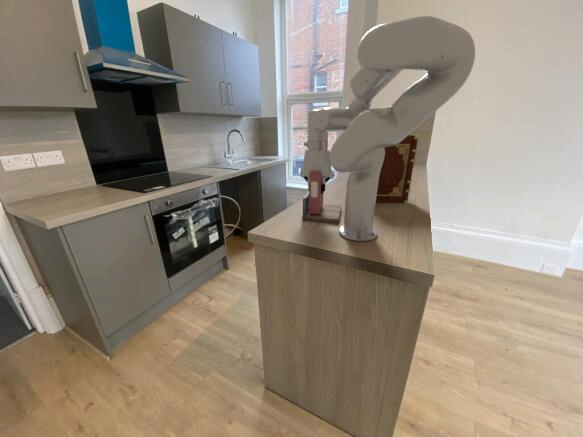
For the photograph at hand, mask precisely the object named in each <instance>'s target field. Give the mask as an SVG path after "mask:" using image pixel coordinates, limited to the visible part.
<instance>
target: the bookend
mask: <svg viewBox="0 0 583 437" xmlns="http://www.w3.org/2000/svg"><path fill="white" fill-rule="evenodd" d="M308 211H309V191H308V190H307V191H306V193H305V194H304V196H303V197H302V216H303V215H304V216H306V214H307V212H308Z"/></svg>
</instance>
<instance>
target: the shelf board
mask: <svg viewBox="0 0 583 437" xmlns="http://www.w3.org/2000/svg"><path fill="white" fill-rule="evenodd" d="M341 212H342V205H336V204H323V205H322V208H321V211H320V214H311V213H309V211H308V212H307V214H306V216H304V215H303V214H302V217H301V221H302V222H311V223H322V224H334V225H335V224H336V225H339V223H340V217H341Z"/></svg>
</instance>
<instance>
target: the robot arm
mask: <svg viewBox="0 0 583 437" xmlns="http://www.w3.org/2000/svg"><path fill="white" fill-rule="evenodd" d="M475 45H476V44H475V41H474V38H473V37H472V35H471V33H469V31H467V30H466V29H465V28H463V27H461V26H459V25H457V24H454V23H452V22H449V21H446V20H444V19H442V18H439V17H435V16H431V15H430V16H429V15H422V16H417V17H416V16H415V17H411V18H407V19H401V20H396V21H391V22H386V23H382V24H379V25H376V26H374V27H372V28H371V29H369V30H368V31H367V32H366V33H365V34H364V36H362V38H361V40H360V42H359V45H358V47H357V52H356V54H357V56H356V57H357V61H358V63H359V65H360V67H359V68H358V69H357V70H356V72H355V73H354V74H353V75H352V76H351V78H350V82H349V87H350V90H351V92H352V94H354V96H355V98H354V99H353V100H352V101H351V102H350V103H349V104H348V105H347V106H346V107H328V106H327V107H323V108H319V109H317V108H316V109H311V110H309V111H308V113H307V140H306V142H305V141H304V142H303V147H307V149H305V150H304V155H303V157H304V158H303V168H302V170H301V171H300V172H299V174H298V175H299V176H300V177H301V178H302V179H304V180H305V182H306V183H307V187H308V188H307V192H308V191H309V173H310V172H311V171H317V172H321V177H322V184H321V194H323V195H324V193H323V192H326V184H327V182H328V181H330V180H331V179H333V178H334V177H336V174H335V172H334V170H335V171H336V172H338V173H342V174H343V173H349V175H348V178H347V181H346V192H345V203H344V204H345V205H344V207H345V208H344V221H343V225H341V226H340V227H338V228H339V230H338V233H339V234H340V235H341V237H343V238H344V239H347V240H351V241H356V242H367V241H372V240H374V239H375V238H376V237H377V235H378V232H377V229H376V228H374V222H375V221H374V219H375V212H376V204H377V203H376V196H377V189H378V181H379V175H380V171H381V168H382V164H383V161H384V157H385V148H384V147H390V146H394V145H397V144H398V143H400V142H401V141H402V140H403V139H404V138H406V137H407V136H408V135H411V133H412V132H414V131H415V130H416V129H418V127H419V126H420V125H422V124H423V123H424V122H425V121H426V120H428V118H430V117H431V116H432V115H434V113H436V111H438V110H439V109H440V108H441V107H443V105H445V104H446V103H448V101H450V99H452V98H453V96H455V95H456V94H457V93H458V92H459V90H460V89H461V88H462V87H463V86H464V84H465V83H466V81H467V79H468V78H469V76H470V74H471V73H472V69H473V67H474V64H475V58H476V46H475ZM403 70H414V71H420V72H426V73H425V75H424V76H422V77H421V78H420V79H417V81H415V82H414V83H413V84H411V85H410V86H409V87H408V88H406V89H405V91H403V93H401V95H399V97H398V98H397V99H396V100H395V101H394V102H393V103H392V104H391V105H388V106H387V107H383V108H378V107H377V108H371V106H372V103H373V99H374V98H375V97H376V96H377V95H378V94H379V93H380V92H381V91H382V90H384V89H385V87H386V86H388V85H389V83H390V82H391V81H393V80H394V79H395V78H396V77H397V76H398V75H399V74H400V73H401V72H402V71H403ZM331 132H342V133H341V134H340V135H339V136H338V138H337V139H336V140H335V141H334V143H333V145H332V146H331V148H330V149H329V148H328V147H329V146H328V145H329V144H328V143H329V142H328V141H329V133H331ZM331 167H332V168H333V169H334V170H333V169H332V168H331Z"/></svg>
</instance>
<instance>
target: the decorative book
mask: <svg viewBox="0 0 583 437" xmlns="http://www.w3.org/2000/svg"><path fill="white" fill-rule="evenodd" d="M419 139H420V135H419V134H409V135H408V136H407V137H406V138H404V139H403V140H402V141H401V142H400V143H398V144H397V145H394V146H390V147H384V148H385V157H384V161H383V164H382V168H381V171H380V175H379V181H378V189H377V196H376V204H405V205H406V204H407V205H408V203H409V194H410V192H411V183H413V182H412V181H413V180H412V175H413V170H414V164H415V162H416V153H417V151H418V149H417V146H418V141H419Z"/></svg>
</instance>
